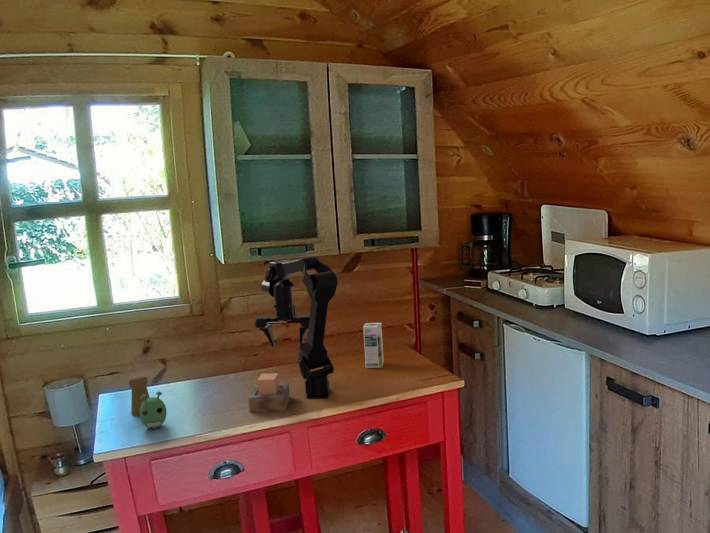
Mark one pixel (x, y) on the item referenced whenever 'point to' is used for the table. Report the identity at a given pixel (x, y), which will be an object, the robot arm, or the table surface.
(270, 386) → the top brick
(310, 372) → the robot arm
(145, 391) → the cork
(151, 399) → the alien toy
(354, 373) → the table surface
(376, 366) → the syrup box
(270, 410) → the grey square frame
